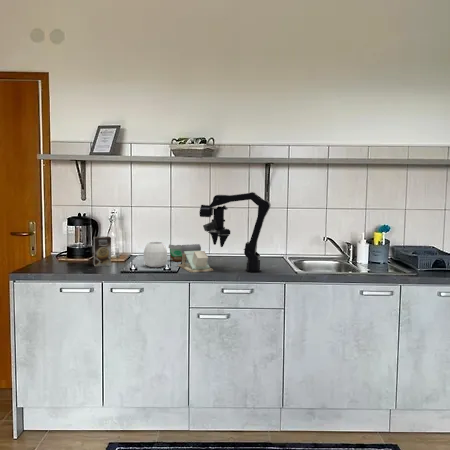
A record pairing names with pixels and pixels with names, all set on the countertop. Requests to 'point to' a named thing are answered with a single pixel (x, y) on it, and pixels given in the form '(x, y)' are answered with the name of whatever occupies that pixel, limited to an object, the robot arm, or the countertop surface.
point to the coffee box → (102, 251)
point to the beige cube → (200, 258)
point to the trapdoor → (189, 255)
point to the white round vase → (155, 254)
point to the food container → (175, 253)
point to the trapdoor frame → (188, 267)
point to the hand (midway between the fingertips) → (218, 245)
